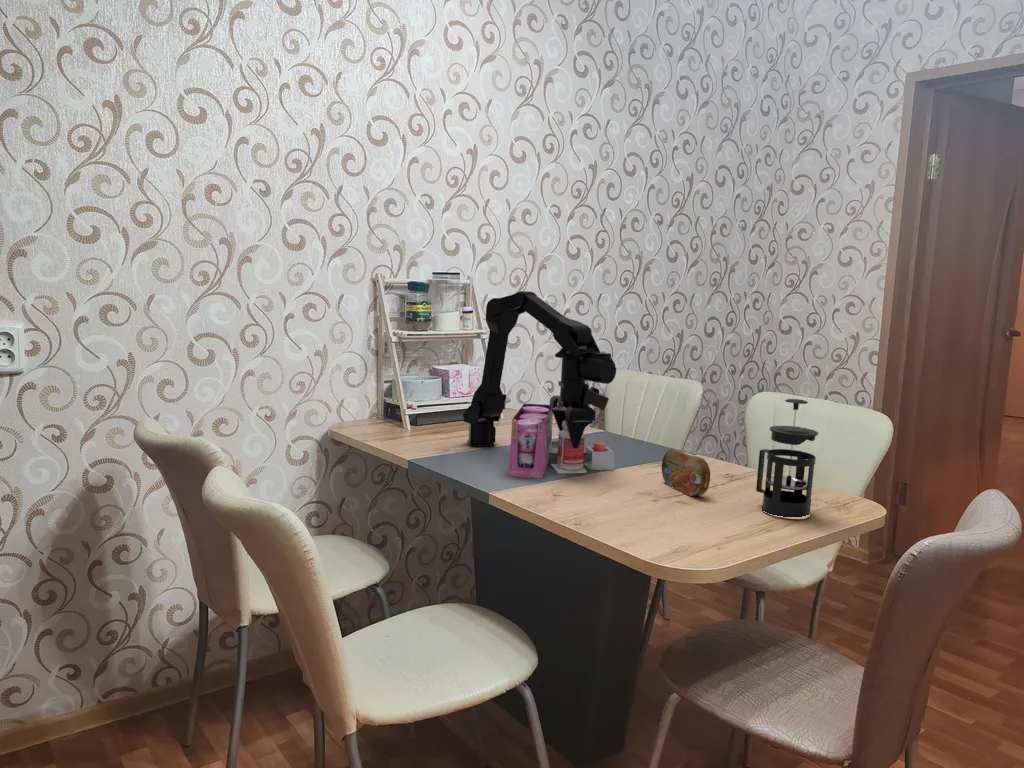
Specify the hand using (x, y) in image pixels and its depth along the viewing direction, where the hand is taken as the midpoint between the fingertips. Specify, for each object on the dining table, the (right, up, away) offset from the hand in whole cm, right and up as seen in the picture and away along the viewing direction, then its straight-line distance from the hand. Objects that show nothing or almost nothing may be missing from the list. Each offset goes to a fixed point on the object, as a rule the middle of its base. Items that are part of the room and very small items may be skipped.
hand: (569, 443), depth 170 cm
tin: (+24, -9, -13) cm, 29 cm away
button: (+7, -3, +4) cm, 9 cm away
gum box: (-9, -6, +4) cm, 12 cm away
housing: (+7, -6, +4) cm, 10 cm away
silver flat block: (0, -4, +14) cm, 14 cm away
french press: (+41, -12, -25) cm, 50 cm away
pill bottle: (0, -6, +1) cm, 6 cm away
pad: (0, -6, +1) cm, 6 cm away
